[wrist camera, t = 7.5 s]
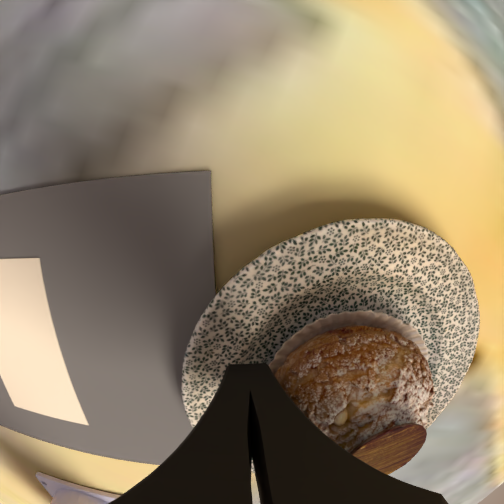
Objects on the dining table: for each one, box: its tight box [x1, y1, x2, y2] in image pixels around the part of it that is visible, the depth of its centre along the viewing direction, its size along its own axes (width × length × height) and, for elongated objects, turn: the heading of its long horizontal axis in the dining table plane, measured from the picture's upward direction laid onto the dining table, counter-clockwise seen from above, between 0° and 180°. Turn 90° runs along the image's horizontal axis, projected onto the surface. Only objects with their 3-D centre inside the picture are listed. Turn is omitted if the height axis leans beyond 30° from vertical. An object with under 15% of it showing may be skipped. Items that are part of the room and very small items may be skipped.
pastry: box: [181, 218, 480, 475], centre depth 8 cm, size 12×12×5 cm
